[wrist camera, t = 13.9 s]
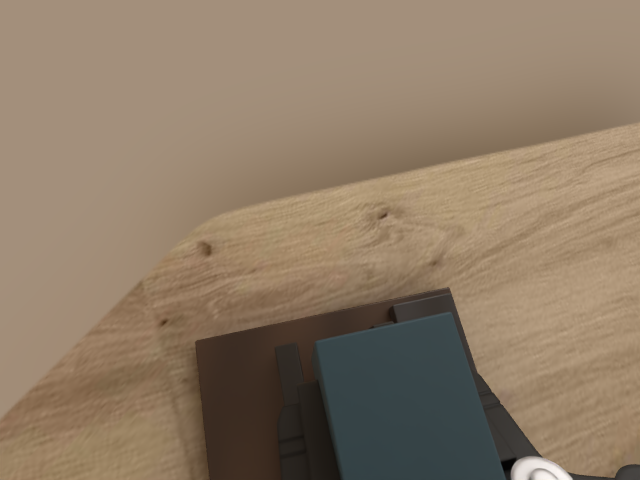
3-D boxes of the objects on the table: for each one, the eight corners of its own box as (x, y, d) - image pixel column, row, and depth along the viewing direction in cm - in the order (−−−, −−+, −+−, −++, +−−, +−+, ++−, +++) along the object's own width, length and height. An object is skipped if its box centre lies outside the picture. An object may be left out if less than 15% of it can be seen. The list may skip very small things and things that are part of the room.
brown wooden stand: (441, 291, 25) (465, 277, 22) (507, 494, 22) (549, 520, 18) (201, 342, 24) (181, 337, 20) (226, 571, 20) (207, 617, 16)
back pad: (384, 340, 16) (451, 310, 9) (435, 533, 14) (587, 722, 6) (310, 357, 16) (314, 340, 8) (350, 557, 14) (404, 785, 6)
